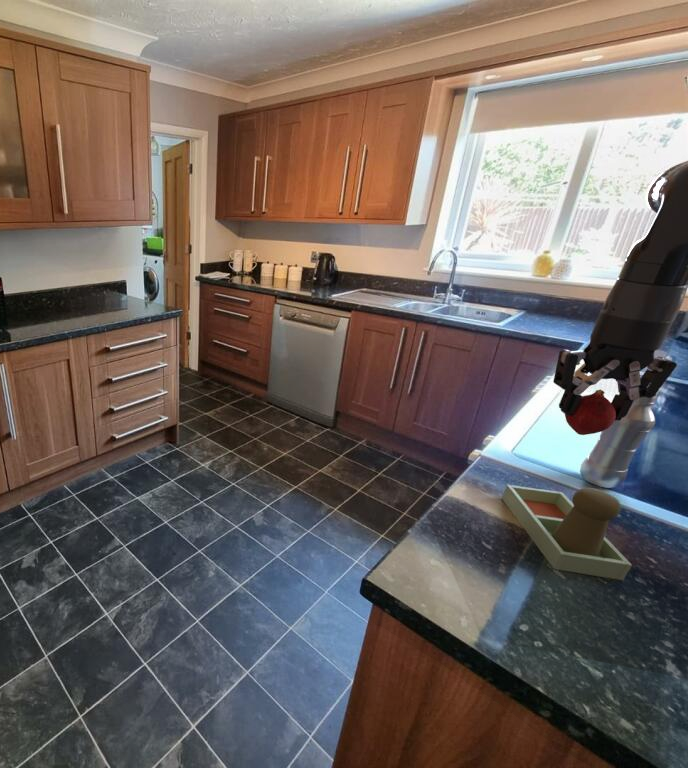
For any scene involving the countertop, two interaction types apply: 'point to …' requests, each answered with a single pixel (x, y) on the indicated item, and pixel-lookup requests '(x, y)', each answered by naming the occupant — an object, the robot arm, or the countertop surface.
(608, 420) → the red round fruit
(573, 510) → the cork
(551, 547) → the sorter
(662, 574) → the countertop surface
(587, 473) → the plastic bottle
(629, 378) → the robot arm
